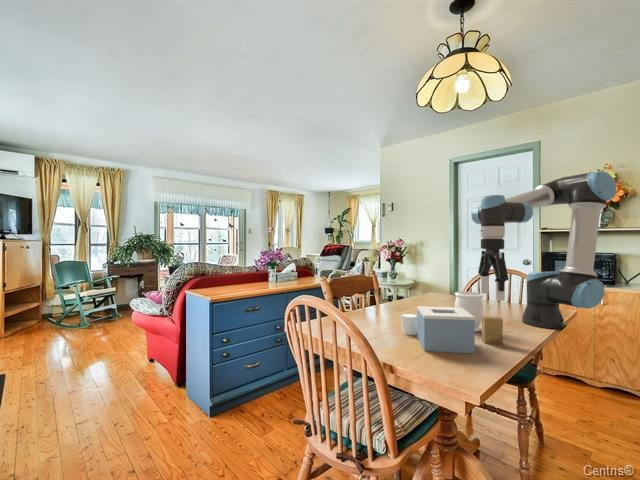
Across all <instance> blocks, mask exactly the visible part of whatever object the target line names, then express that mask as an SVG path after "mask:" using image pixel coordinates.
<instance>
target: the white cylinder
mask: <svg viewBox="0 0 640 480" xmlns="http://www.w3.org/2000/svg"><path fill="white" fill-rule="evenodd" d="M400 321H401V332H402V334H403V335H409V336H415V335H417V314H415V313H402V314H400Z"/></svg>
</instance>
